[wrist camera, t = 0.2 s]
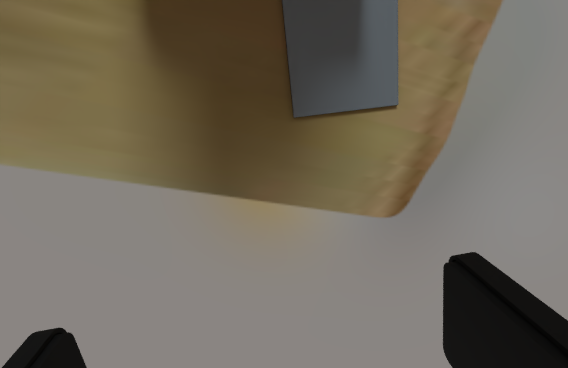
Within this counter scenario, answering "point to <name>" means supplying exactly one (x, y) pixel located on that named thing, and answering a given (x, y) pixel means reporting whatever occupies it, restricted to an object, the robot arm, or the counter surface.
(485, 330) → the robot arm
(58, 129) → the counter surface
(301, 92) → the rubber mat
